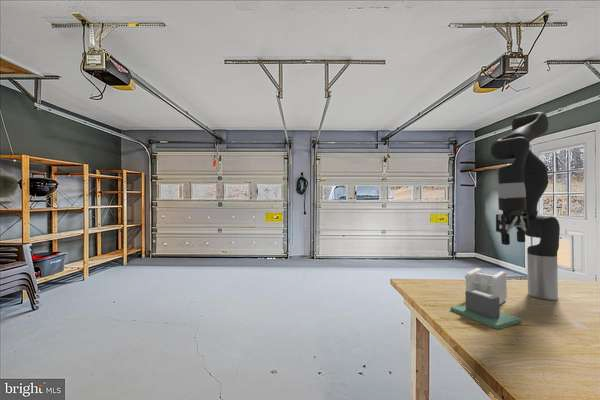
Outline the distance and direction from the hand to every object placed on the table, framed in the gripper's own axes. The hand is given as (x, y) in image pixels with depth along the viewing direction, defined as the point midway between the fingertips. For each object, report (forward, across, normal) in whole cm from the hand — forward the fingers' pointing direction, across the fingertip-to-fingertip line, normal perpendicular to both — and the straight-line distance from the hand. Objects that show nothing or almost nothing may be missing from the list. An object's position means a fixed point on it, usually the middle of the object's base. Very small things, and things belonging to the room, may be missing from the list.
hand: (513, 243), depth 93 cm
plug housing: (+23, +12, -4) cm, 26 cm away
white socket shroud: (+25, -4, -13) cm, 29 cm away
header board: (+25, +11, -4) cm, 27 cm away
